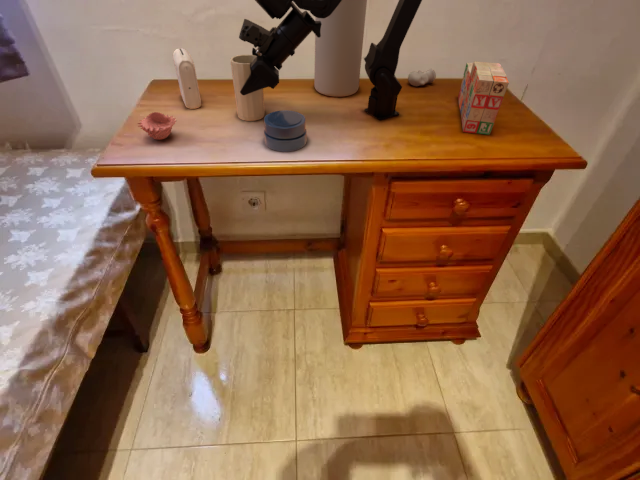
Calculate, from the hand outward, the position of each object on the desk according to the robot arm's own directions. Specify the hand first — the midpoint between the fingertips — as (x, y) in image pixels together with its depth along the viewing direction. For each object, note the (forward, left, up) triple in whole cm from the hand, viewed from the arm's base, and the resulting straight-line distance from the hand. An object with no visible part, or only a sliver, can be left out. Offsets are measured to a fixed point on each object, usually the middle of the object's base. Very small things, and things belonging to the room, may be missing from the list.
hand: (242, 88), depth 88 cm
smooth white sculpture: (-53, +6, -7) cm, 54 cm away
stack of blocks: (-50, +28, -7) cm, 58 cm away
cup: (-1, +1, -7) cm, 7 cm away
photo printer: (+9, -14, -7) cm, 18 cm away
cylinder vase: (-29, -3, -7) cm, 30 cm away
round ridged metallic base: (-2, +17, -7) cm, 18 cm away
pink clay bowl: (+21, +2, -7) cm, 22 cm away
